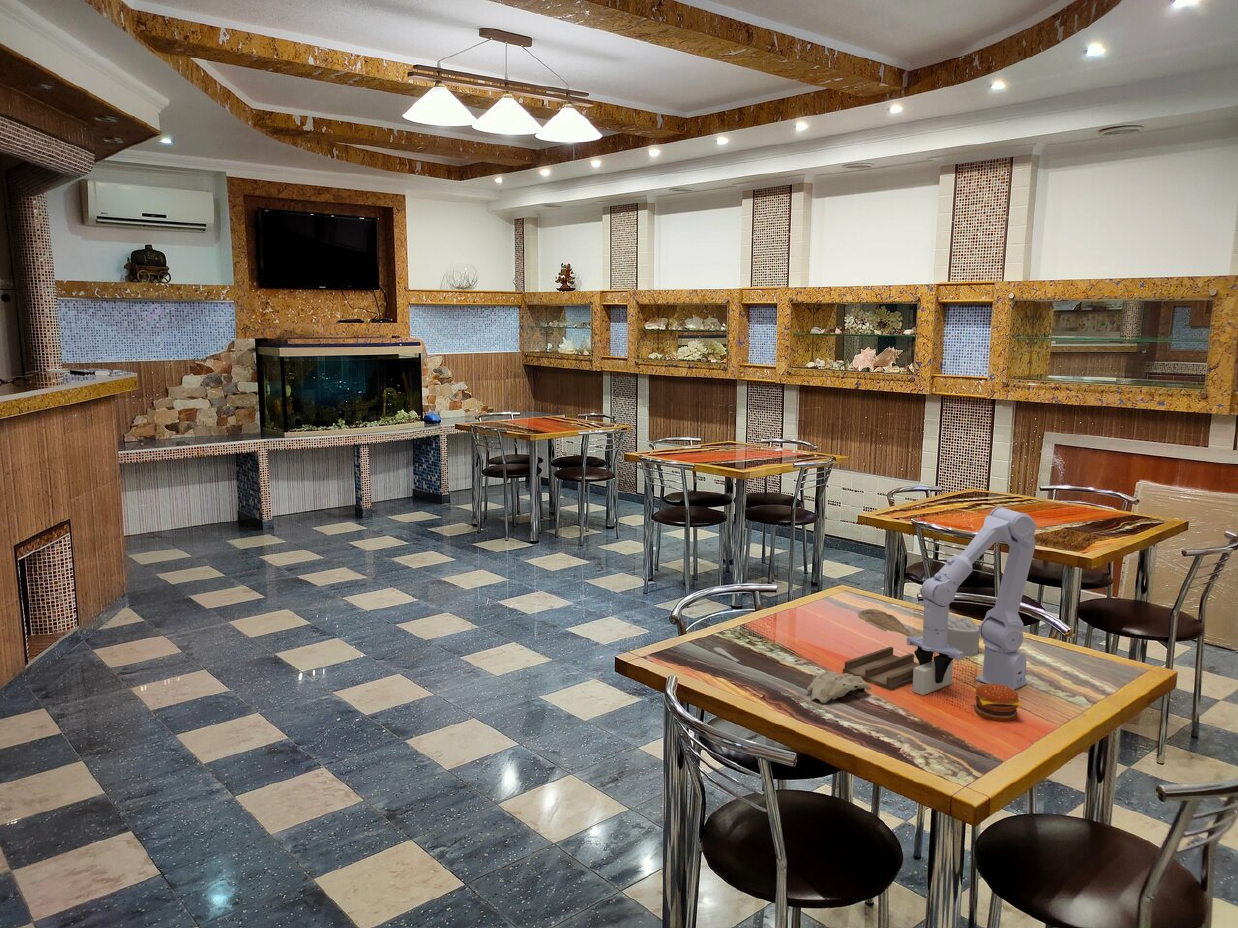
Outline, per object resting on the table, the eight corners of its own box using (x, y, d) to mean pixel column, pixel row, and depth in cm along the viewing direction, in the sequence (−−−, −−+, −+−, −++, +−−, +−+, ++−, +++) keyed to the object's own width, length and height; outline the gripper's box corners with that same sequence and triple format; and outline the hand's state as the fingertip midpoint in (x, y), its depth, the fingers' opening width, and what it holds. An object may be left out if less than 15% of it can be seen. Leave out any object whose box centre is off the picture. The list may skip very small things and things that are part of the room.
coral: (818, 705, 211) (819, 684, 210) (797, 686, 222) (798, 666, 222) (877, 700, 214) (878, 680, 213) (854, 682, 226) (854, 662, 225)
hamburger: (968, 704, 212) (970, 677, 211) (1010, 706, 211) (1012, 679, 210) (980, 721, 202) (982, 693, 201) (1024, 723, 202) (1026, 695, 201)
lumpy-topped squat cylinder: (952, 638, 257) (954, 609, 256) (988, 653, 245) (990, 623, 244) (925, 644, 253) (926, 614, 252) (960, 659, 241) (961, 628, 240)
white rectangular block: (951, 683, 224) (952, 660, 223) (923, 695, 216) (924, 671, 216) (941, 680, 226) (942, 657, 225) (912, 691, 219) (913, 667, 218)
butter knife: (720, 646, 250) (711, 648, 249) (769, 676, 229) (759, 677, 227) (720, 648, 250) (711, 649, 249) (769, 677, 229) (759, 679, 227)
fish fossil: (927, 637, 260) (927, 633, 259) (897, 643, 257) (897, 639, 256) (876, 609, 284) (876, 606, 284) (848, 615, 281) (847, 611, 281)
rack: (936, 673, 231) (937, 662, 230) (891, 690, 220) (892, 678, 219) (888, 656, 243) (888, 646, 242) (842, 672, 231) (843, 661, 231)
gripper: (900, 622, 222) (897, 674, 224) (952, 638, 211) (949, 693, 213) (917, 617, 227) (914, 668, 228) (969, 632, 215) (966, 686, 217)
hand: (932, 679), depth 221 cm, fingers closed on white rectangular block, 3 cm apart
